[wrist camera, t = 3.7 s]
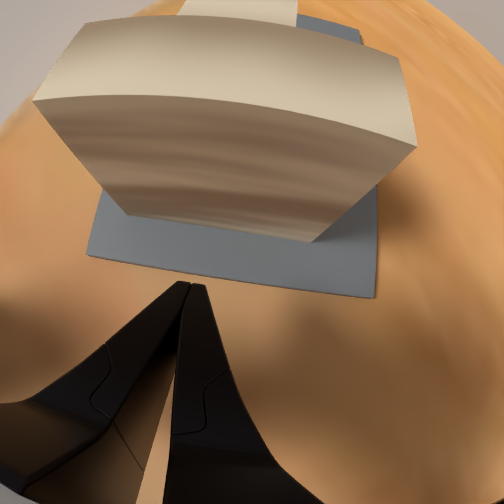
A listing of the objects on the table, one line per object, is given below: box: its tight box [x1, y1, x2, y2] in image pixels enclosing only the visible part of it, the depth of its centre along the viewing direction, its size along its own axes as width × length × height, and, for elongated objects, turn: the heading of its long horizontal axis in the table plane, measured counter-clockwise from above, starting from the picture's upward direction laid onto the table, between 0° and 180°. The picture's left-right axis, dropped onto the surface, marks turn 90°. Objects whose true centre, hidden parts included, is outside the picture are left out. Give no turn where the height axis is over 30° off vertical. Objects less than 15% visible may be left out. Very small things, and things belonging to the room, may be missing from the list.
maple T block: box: [32, 0, 417, 243], centre depth 12 cm, size 9×10×10 cm
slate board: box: [86, 14, 377, 299], centre depth 18 cm, size 24×16×1 cm, turn 172°
